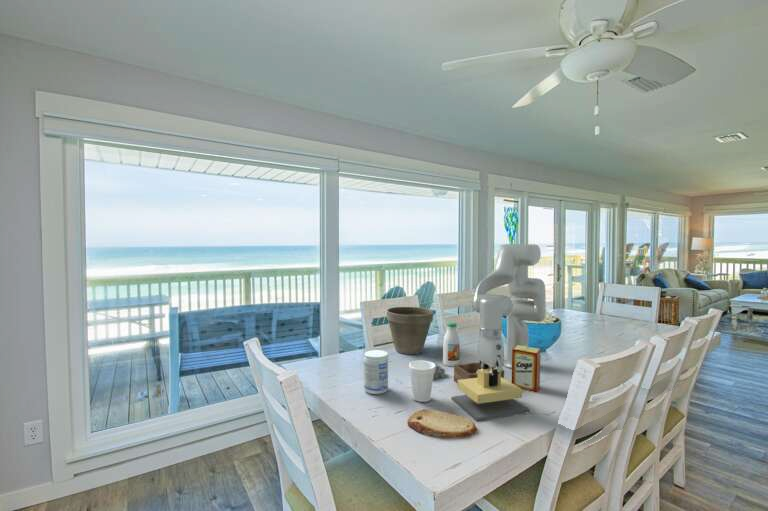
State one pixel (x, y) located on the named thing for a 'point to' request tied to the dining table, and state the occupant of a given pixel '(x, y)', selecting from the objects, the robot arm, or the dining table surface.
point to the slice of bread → (441, 424)
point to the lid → (488, 388)
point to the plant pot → (409, 328)
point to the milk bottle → (451, 345)
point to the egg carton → (439, 372)
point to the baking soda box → (526, 367)
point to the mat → (489, 408)
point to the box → (468, 371)
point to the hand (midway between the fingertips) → (489, 382)
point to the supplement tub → (376, 372)
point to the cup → (422, 379)
